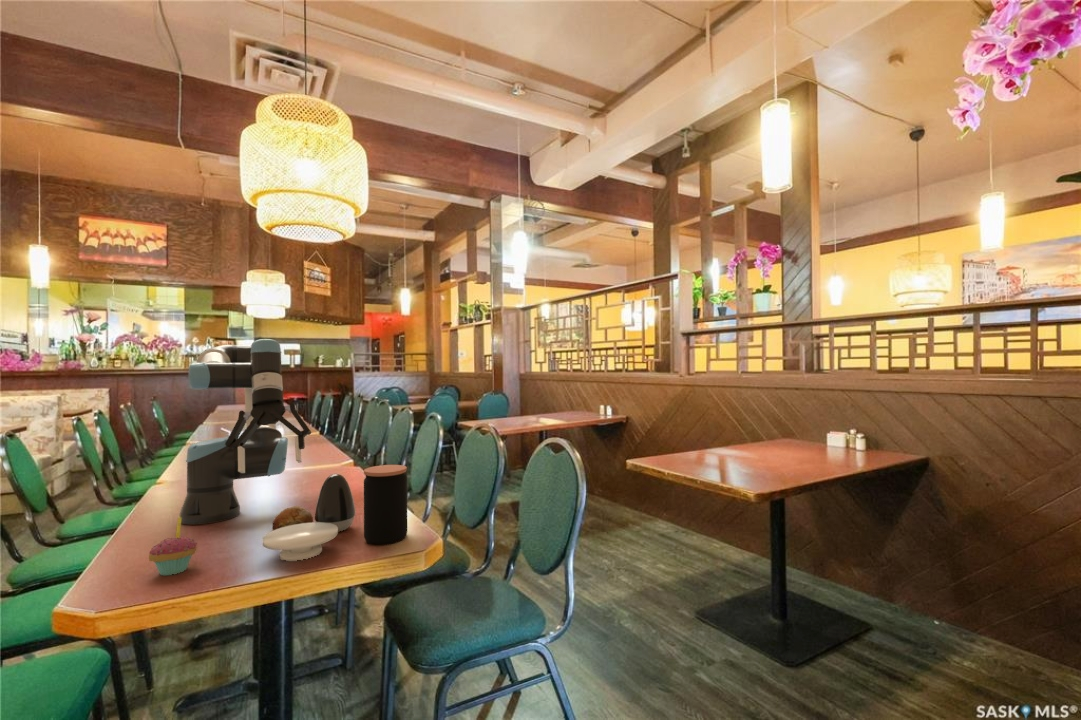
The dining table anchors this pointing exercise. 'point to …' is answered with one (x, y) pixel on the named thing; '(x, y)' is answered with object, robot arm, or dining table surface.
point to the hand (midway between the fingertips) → (270, 466)
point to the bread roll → (292, 517)
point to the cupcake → (173, 553)
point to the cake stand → (300, 540)
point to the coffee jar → (385, 504)
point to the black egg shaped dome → (335, 503)
